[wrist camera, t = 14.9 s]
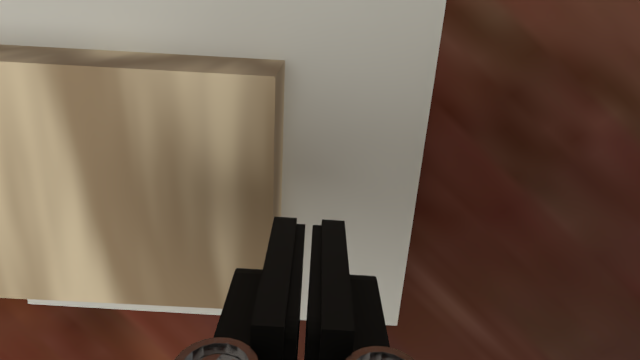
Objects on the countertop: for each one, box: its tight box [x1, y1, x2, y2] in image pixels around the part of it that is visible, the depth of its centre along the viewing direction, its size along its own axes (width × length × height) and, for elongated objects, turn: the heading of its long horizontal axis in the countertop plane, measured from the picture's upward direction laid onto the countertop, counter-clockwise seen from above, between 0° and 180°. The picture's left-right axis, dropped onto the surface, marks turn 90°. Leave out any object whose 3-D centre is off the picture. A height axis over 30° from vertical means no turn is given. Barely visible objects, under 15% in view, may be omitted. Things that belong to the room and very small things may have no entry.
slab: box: [0, 44, 285, 309], centre depth 16 cm, size 4×8×12 cm
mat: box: [0, 0, 446, 326], centre depth 18 cm, size 16×14×1 cm
